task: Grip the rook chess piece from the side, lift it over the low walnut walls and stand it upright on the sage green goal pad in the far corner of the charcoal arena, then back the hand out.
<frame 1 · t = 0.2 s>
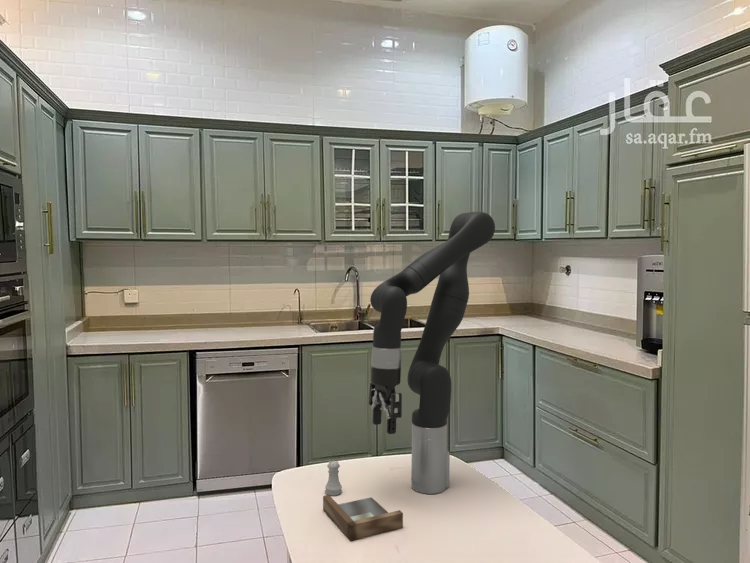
hand: (383, 428, 138), 18 cm above the table, tool pointing down, fingers open, 8 cm apart
corner arena: (361, 518, 127), on the table
rook chess piece: (333, 493, 141), on the table
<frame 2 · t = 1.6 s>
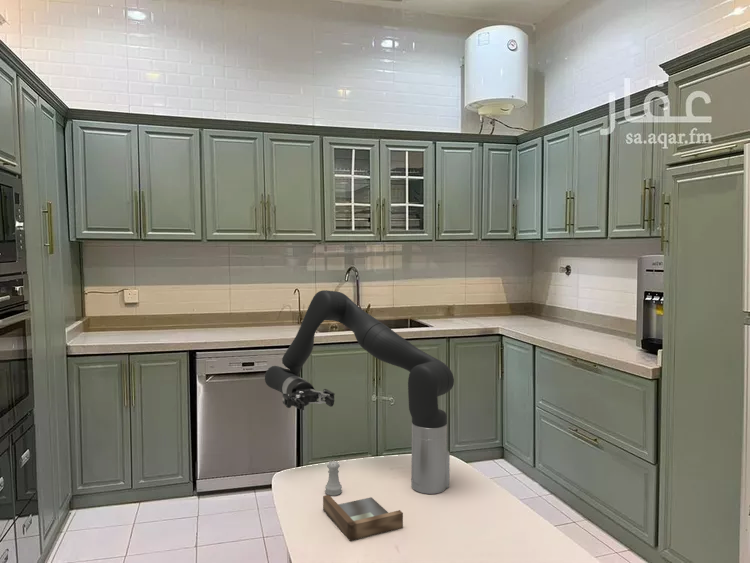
hand: (317, 404, 150), 20 cm above the table, tool horizontal, fingers open, 8 cm apart
nothing on the table moved.
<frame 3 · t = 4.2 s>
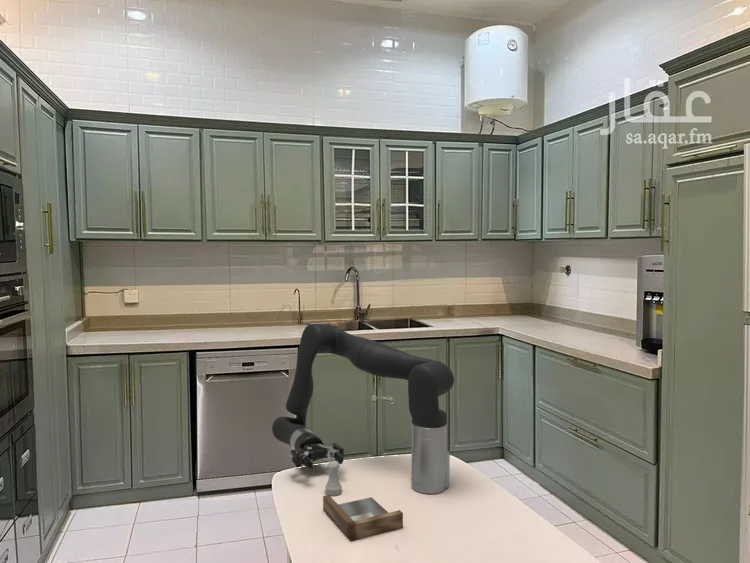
hand: (326, 463, 145), 6 cm above the table, tool horizontal, fingers open, 8 cm apart
nothing on the table moved.
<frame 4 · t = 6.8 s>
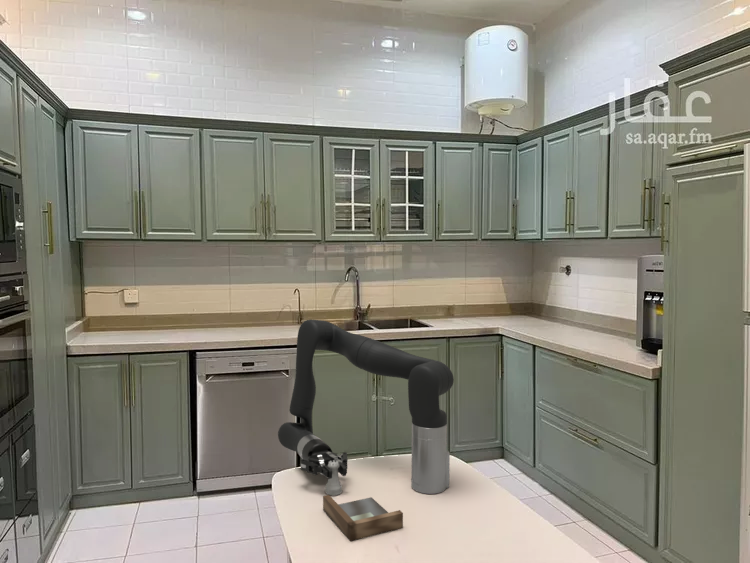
hand: (337, 473, 138), 6 cm above the table, tool horizontal, fingers closed on rook chess piece, 3 cm apart
rook chess piece: (333, 493, 141), on the table, touching gripper
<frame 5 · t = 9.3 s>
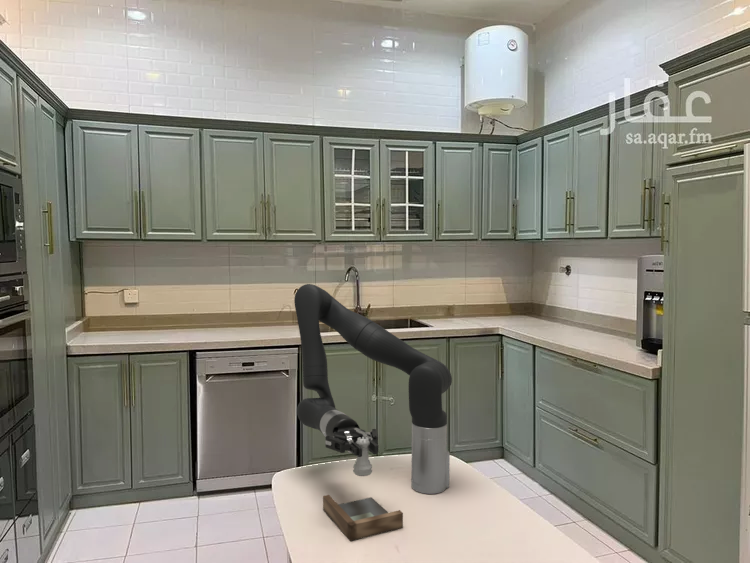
hand: (368, 451, 122), 18 cm above the table, tool horizontal, fingers closed on rook chess piece, 3 cm apart
rook chess piece: (362, 473, 125), point 11 cm above the table, touching gripper
when the fingers open (8 cm above the table, at t = 11.9 s): rook chess piece stays where it is, resting on corner arena.
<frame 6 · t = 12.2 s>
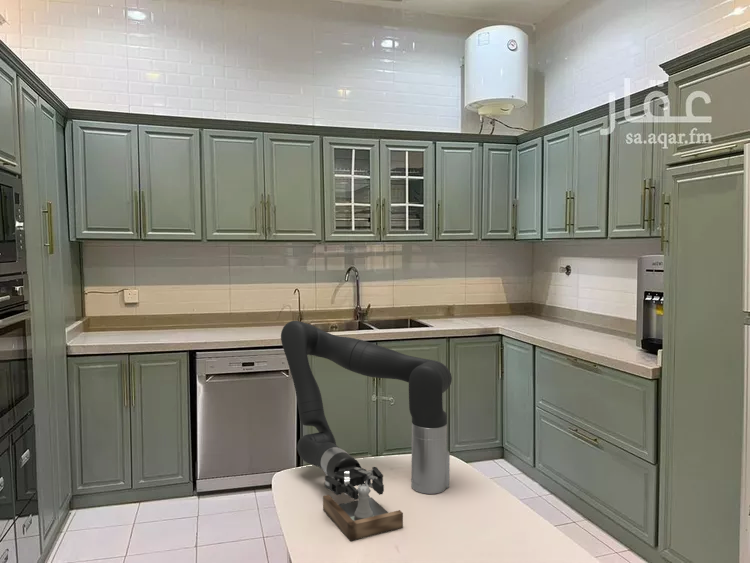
hand: (369, 492, 122), 8 cm above the table, tool horizontal, fingers open, 5 cm apart
rook chess piece: (363, 520, 125), point 1 cm above the table, touching corner arena
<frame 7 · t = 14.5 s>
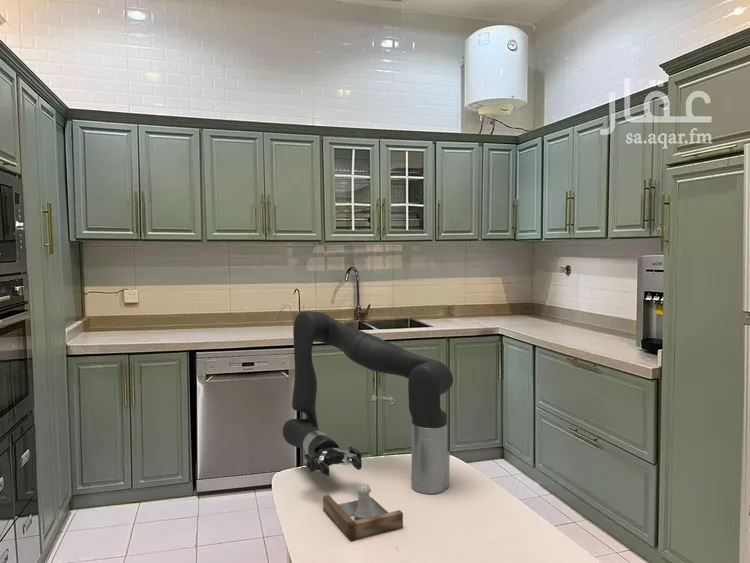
hand: (344, 468, 135), 9 cm above the table, tool horizontal, fingers open, 8 cm apart
nothing on the table moved.
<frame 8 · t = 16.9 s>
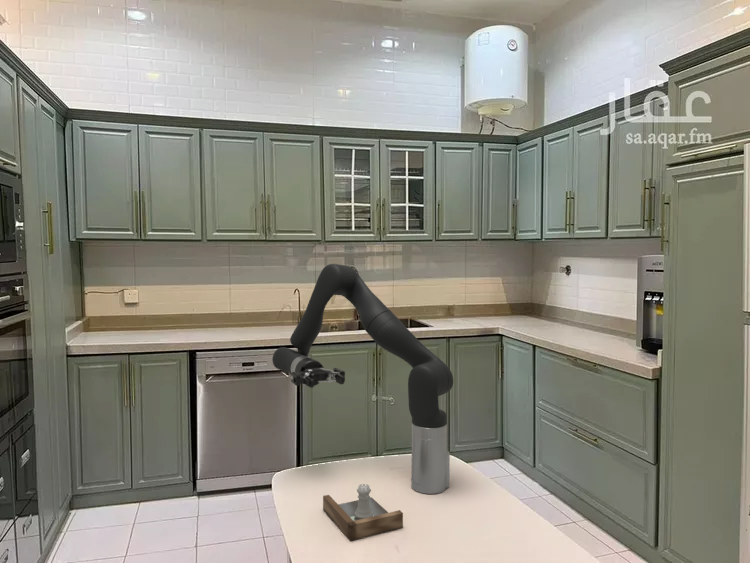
hand: (327, 382, 143), 28 cm above the table, tool horizontal, fingers open, 8 cm apart
nothing on the table moved.
at the end: rook chess piece inside the target area (0.4 cm from its centre), point 0.6 cm above the table; rook chess piece tilted 0°; the gripper is holding nothing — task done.
